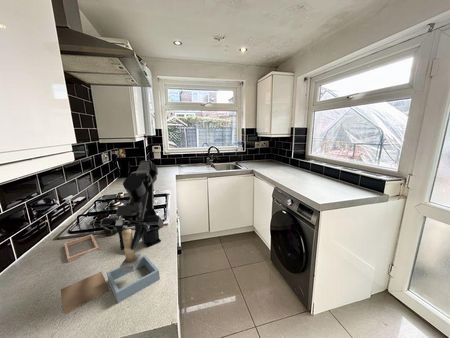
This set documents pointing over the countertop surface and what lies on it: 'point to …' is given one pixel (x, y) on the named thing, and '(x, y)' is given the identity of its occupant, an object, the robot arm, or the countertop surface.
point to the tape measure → (109, 231)
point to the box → (134, 286)
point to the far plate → (83, 291)
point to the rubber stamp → (129, 253)
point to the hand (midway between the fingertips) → (127, 250)
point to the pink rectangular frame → (77, 242)
